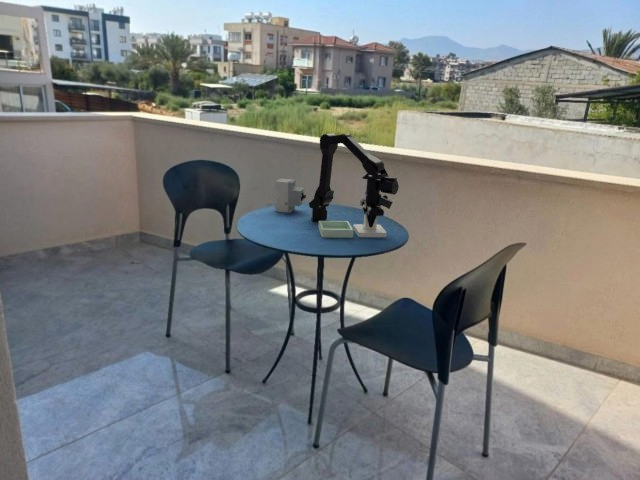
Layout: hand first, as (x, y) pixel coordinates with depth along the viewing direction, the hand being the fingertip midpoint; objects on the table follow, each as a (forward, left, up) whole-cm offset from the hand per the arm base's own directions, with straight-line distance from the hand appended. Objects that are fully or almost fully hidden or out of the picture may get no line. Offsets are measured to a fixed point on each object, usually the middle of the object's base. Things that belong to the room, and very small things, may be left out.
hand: (370, 226), depth 190 cm
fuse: (0, 0, -3) cm, 3 cm away
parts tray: (-15, 0, -3) cm, 15 cm away
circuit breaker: (-32, +35, -3) cm, 48 cm away
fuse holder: (0, 0, -3) cm, 3 cm away
